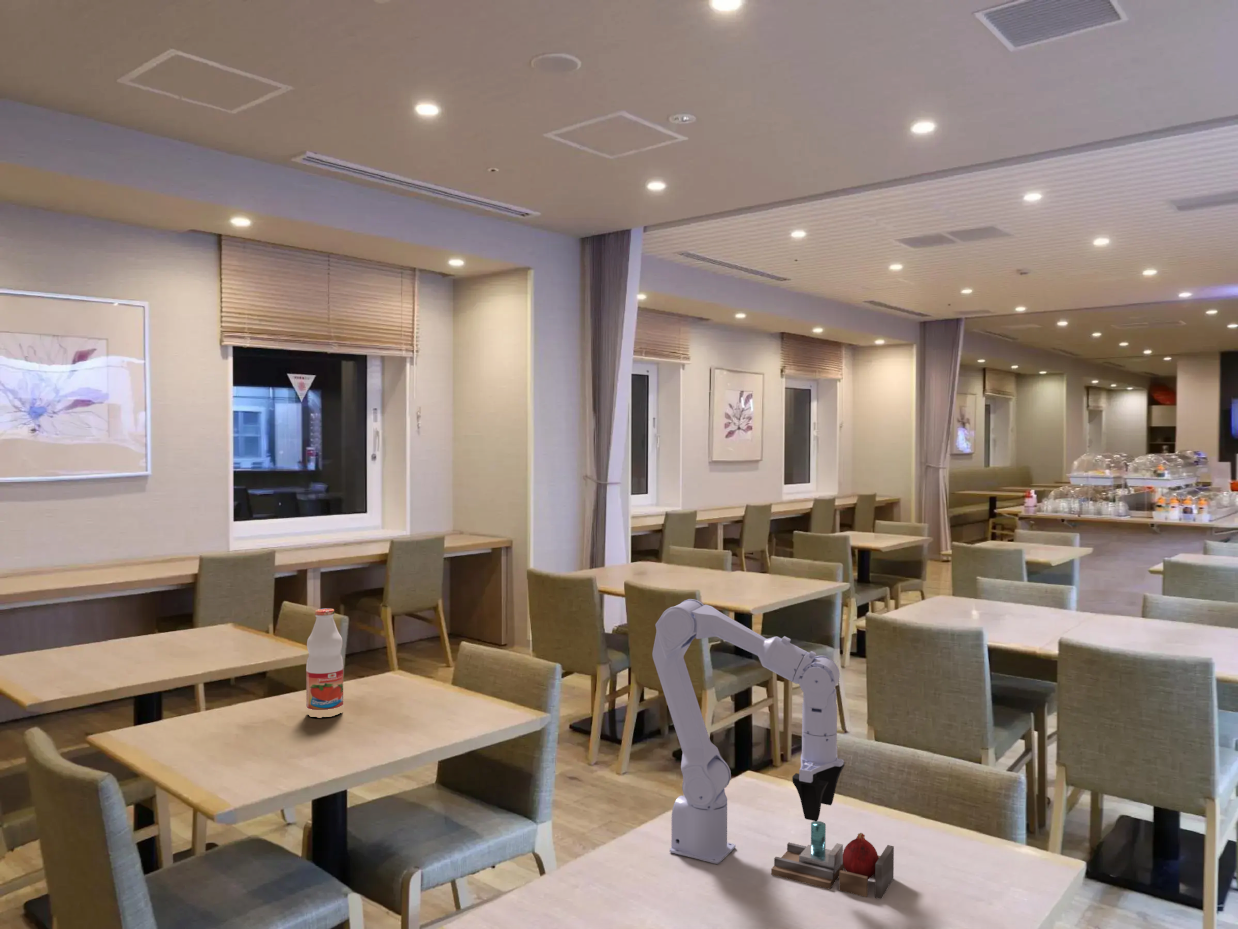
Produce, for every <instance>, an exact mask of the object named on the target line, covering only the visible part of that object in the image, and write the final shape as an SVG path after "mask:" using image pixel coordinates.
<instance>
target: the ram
mask: <svg viewBox="0 0 1238 929" xmlns="http://www.w3.org/2000/svg"><path fill="white" fill-rule="evenodd" d="M826 828H827V827H826V823H825V822H824V821H819V820H817V821H813V820H812V821H811V822H810V844H808V845H806V846H807V847H806V848H805V849H804V850H803V852H802V853H801V854H800V855H799V862H801V863H805V864H809V865H813V866H818V867H822V868H826V869H830V870H834V875H835V873H836V872H837V870H838V869H839V868H840V866H841V865H842V864H843V851H844V844H843V843H836V844H835V845H834V846H833V848H831V849H829V848H826V841H827V840H826V830H827V829H826Z"/></svg>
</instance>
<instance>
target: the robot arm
mask: <svg viewBox="0 0 1238 929" xmlns="http://www.w3.org/2000/svg"><path fill="white" fill-rule="evenodd" d="M655 629H656V631H655V632H656V633H655V638H654V642H653V643H654V644H653V648H652V655H651V656H652V660H653V663H654V666H655V668H656V672H657V676H658V679H659V681H660V685H661V687H662V691H663V695H664V697H665V701H666V704H667V706H668V710H669V714H670V717H671V720H672V724H673V727H674V729H675V733H676V735H677V739H678V742H679V746H680V749H681V751H682V755H681V763H680V770H681V774H682V787H681V788H682V794H683V795H679V796H678V797H677V798H676V799H675V801H674V802H673V803H674V804H673V806H672V811H671V840H670V841H671V842H670V843H671V847H670V848H669V852H670V853H671V854H676V855H679V856H684V857H687V858H692V859H695V860H699V861H703V862H707V863H711V864H715V865H716V864H717V865H718V864H720V863H721V862H722V861H723V860H724V859H725V858H726V857H727V856H728V855H729V854H730V853H731V852H732V851H734V849H735V848H736V844H735V843H731V842H728V797H727V795H726V792H725V791H726V788H727V787H728V785H729V784H730V782H731V776H732V774H731V772H732V771H731V769H730V767H729V765H728V763H727V762H726V761H725V760H724V758H723V757H722V755H721V753H720V750H719V749H718V748H719V747H717V746H716V745H715V744H713V742H712V741H711V739H710V736H709V732H708V729H707V727H706V723H705V720H704V717H703V714H702V711H701V708H700V705H699V702H698V698H697V696H696V692H695V689H694V686H693V683H692V679H691V677H690V673H689V670H688V668H687V665H686V661H685V658H684V656H685V654H686V652H687V651H688V649H689V647H690V645H691V644H692V641H694V639H696V640H699V639H700V640H701V639H708V638H714V637H715V638H716V637H717V638H719V639H720V640H723V641H725V642H727V643H729V644H731V645H733V646H736V647H738V648H740V649H743V650H744V651H747V652H749V653H751V654H753V655H754V656H756V657H758V660H759V662H760V664H761V666H762V667H763V668H765V669H767V670H768V671H770V672H773V673H774V674H776V675H778V676H780V677H782V678H784V679H786V680H788V681H790V682H791V683H793V684H796V685H799V688H800V690H801V691H802V692H803V694H802V697H803V698H802V700H803V701H802V703H801V704H802V705H801V707H802V708H801V710H802V711H801V714H802V715H801V716H802V718H801V719H802V720H801V754H800V768H799V773H797V772H796V773H795V774H794V775H792V779H791V780H792V784H793V785H794V787H795V789H796V791H797V793H798V796H799V799H800V802H801V808H802V812H803V817H804V819H805V820H808V821H812V822H813V821H819V818H820V814H821V809H822V805H826V806H827V805H828V806H832V805H833V802H834V797H835V792H836V790H837V784H838V781H839V778H840V775H841V773H842V771H843V769H844V767H845V762H844V759H843V758H839V757H838V744H837V743H838V738H837V737H838V735H837V734H838V704H837V698H838V695H837V689H836V686H837V685H838V684H839V680H840V676H841V675H840V670H839V667H838V665H837V663H836V662H835V661H833V660H832V659H831V658H829V656H828V655H817V653H816V652H815V651H812V650H810V652H808V651H807V650H804V648H800V647H799V646H797V645H795V644H793V643H791V641H792V640H791V638H789V637H787V636H785V635H784V636H783V637H782V638H781V637H779V636H773V637H769V638H766V637H764V636H763V635H761V634H759V633H758V632H756V631H754V630H752V629H750V628H748V627H747V626H745V625H744V624H742V623H740V622H738V621H737V620H735V619H733V618H731V617H730V616H728V615H726V614H724V613H722V612H721V611H719V610H718V609H716V608H715V607H713V606H712V605H708V604H704V603H703V602H701V601H699V600H697V599H695V598H694V599H692V598H688V599H685V600H683V601H681V602H680V603H679V604H677V605H675V606H670V607H668V608H667V609H665V610H664V611H663V612H662V614H661V616H660V617H659V619H658V620H657V621H656V623H655Z"/></svg>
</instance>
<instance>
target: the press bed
mask: <svg viewBox="0 0 1238 929" xmlns="http://www.w3.org/2000/svg"><path fill="white" fill-rule="evenodd" d="M807 846H808V845H802V844H799V843H798V844H796V843H792V842H788V843H787V844H786V852H785V853H784V854H783V855H782V856H781V857H780V856H775V857H774V858H773V860H774V861H773V862H774V863H773V866H772V867H771V868H770V872H771V873H770V874H771V875H772V876H776V877H778V878H784V879H787V880H792V881H795V882H799V883H803V884H807V885H812V886H815V887H820V888H822V889H823V888H824V889H827V890H831V888H832V887H833V886H834V884H835V883H836V881H837V880H839V881H838V882H839V884H838V889H839V890H838V891H840V892H842V893H843V892H844V893H847V894H851V895H857V896H861V897H864V898H867V897H868V895H869V879H868V876H863V875H859V874H855V873H851V872H847V871H846V870H845V867H844V865H843V864H842V865H841V866H840V868H839V869H838V870H837V872H836V873H835V875H834V870H830V869H826V868H822V867H818V866H813V865H809V864H805V863H801V862H799V855H800V854H801V853H802V852H803V850H804V849H805V848H806V847H807ZM894 847H895V846H893V845H891V844H890V845H889V844H887V846H886V847H885V848H884V850H883V851H882V853H881V854H880V855H878V858H879V859H878V861H877V862H876V864H875V874H874V875H873V876H874V877H875V878H874V898H876V899H880V900H882V899H883V898H884V896H885V894H886V892H887V890H888V889H889V887H890V886H891V884H892V882H893V880H894V876H895V875H894V874H895V873H894V868H895V867H894V863H895V861H894V859H895V857H894V856H895V853H894V851H895V848H894Z"/></svg>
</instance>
